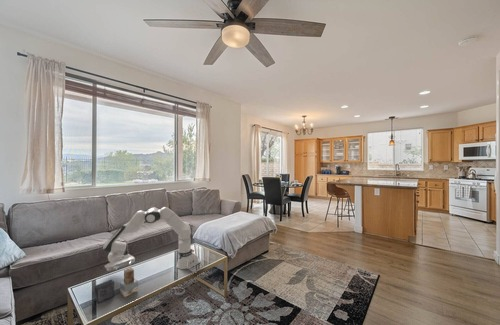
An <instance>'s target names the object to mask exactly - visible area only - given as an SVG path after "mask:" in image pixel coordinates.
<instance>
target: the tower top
mask: <svg viewBox="0 0 500 325" xmlns="http://www.w3.org/2000/svg"><path fill="white" fill-rule="evenodd" d="M137 286H138V287H139V281H138V280H137V279H136V278H134V282H132V283H129V284H126V283H125V282H124V280H122V281H120V282H119V289H120V288H121V289H122V290H123V291H125V292H127V291H129V290H131V289H133V288H135V287H137Z"/></svg>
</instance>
